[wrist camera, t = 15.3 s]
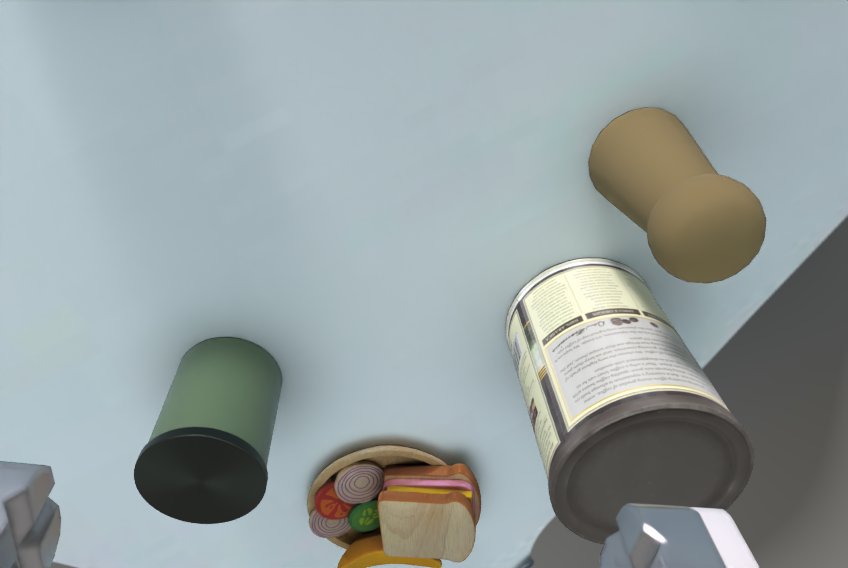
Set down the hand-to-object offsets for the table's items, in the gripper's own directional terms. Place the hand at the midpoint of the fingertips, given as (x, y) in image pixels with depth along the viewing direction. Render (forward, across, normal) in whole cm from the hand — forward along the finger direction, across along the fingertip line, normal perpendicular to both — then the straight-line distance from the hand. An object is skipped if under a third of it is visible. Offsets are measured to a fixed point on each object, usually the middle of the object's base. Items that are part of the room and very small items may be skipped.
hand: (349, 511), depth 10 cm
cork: (+30, -16, +4) cm, 34 cm away
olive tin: (+30, +7, +24) cm, 38 cm away
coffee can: (+30, -16, +16) cm, 38 cm away
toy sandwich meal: (+30, -6, +34) cm, 45 cm away
